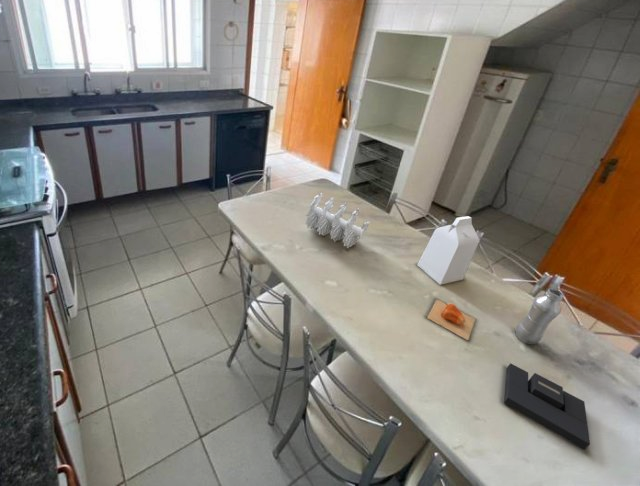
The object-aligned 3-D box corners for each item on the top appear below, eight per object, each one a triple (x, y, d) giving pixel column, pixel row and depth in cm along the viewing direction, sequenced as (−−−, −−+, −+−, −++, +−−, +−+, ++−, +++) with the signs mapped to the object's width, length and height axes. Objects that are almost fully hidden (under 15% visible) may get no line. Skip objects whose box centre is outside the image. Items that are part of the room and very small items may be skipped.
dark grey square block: (555, 396, 89) (563, 386, 87) (556, 413, 85) (564, 404, 83) (527, 381, 92) (534, 372, 91) (527, 397, 88) (534, 388, 86)
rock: (467, 340, 103) (473, 331, 101) (426, 318, 110) (431, 309, 108) (475, 319, 111) (480, 310, 109) (436, 299, 118) (440, 290, 116)
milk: (439, 260, 139) (462, 208, 127) (463, 279, 129) (490, 224, 117) (417, 265, 135) (439, 211, 123) (440, 284, 126) (466, 228, 114)
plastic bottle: (540, 340, 105) (573, 295, 96) (532, 350, 102) (566, 304, 93) (517, 326, 110) (546, 281, 101) (509, 335, 106) (539, 289, 97)
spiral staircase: (350, 260, 141) (301, 232, 155) (370, 231, 149) (321, 207, 162) (353, 237, 128) (299, 209, 142) (374, 207, 135) (321, 183, 149)
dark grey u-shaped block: (579, 406, 87) (584, 401, 86) (584, 449, 78) (590, 444, 77) (506, 368, 96) (510, 362, 94) (503, 403, 86) (507, 397, 85)
